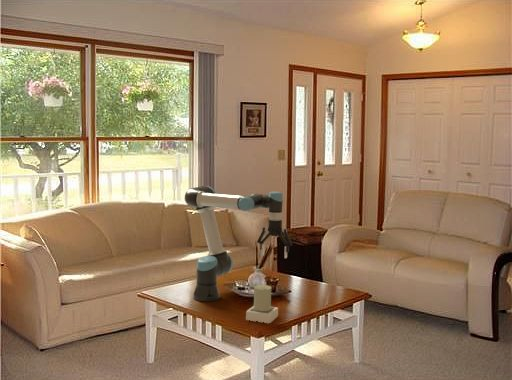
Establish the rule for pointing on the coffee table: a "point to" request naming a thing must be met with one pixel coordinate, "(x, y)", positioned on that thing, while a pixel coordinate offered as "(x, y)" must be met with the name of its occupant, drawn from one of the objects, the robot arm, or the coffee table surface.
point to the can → (262, 298)
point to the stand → (262, 315)
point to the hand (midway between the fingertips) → (274, 256)
